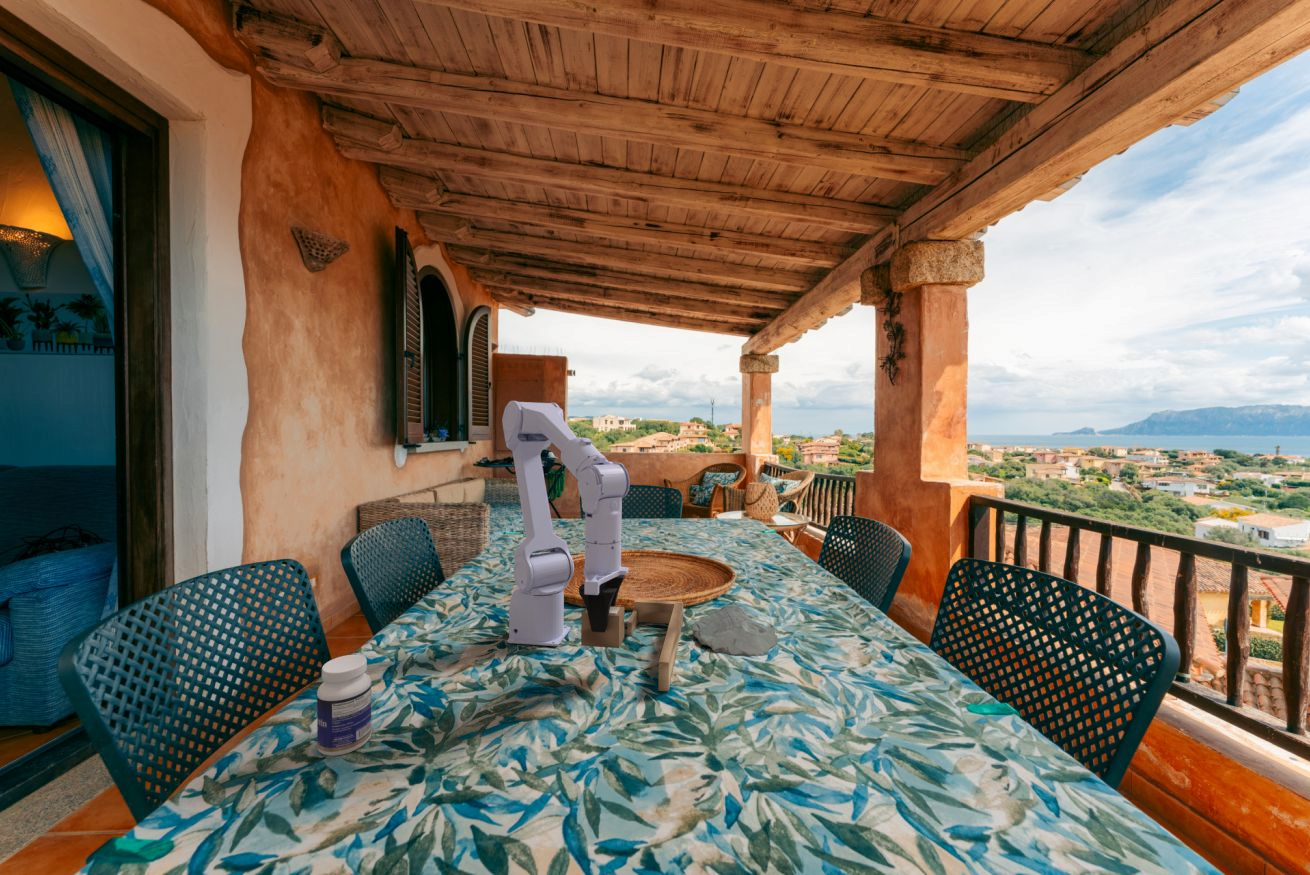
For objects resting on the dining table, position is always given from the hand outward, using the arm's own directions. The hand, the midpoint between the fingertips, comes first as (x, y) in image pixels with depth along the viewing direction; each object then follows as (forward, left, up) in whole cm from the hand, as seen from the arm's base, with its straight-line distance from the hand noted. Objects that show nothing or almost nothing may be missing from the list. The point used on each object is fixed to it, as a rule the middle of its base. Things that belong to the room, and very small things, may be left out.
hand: (602, 625), depth 80 cm
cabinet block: (0, 0, -3) cm, 3 cm away
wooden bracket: (+6, +10, -8) cm, 14 cm away
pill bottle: (-27, -22, -8) cm, 36 cm away
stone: (+21, +17, -8) cm, 28 cm away
